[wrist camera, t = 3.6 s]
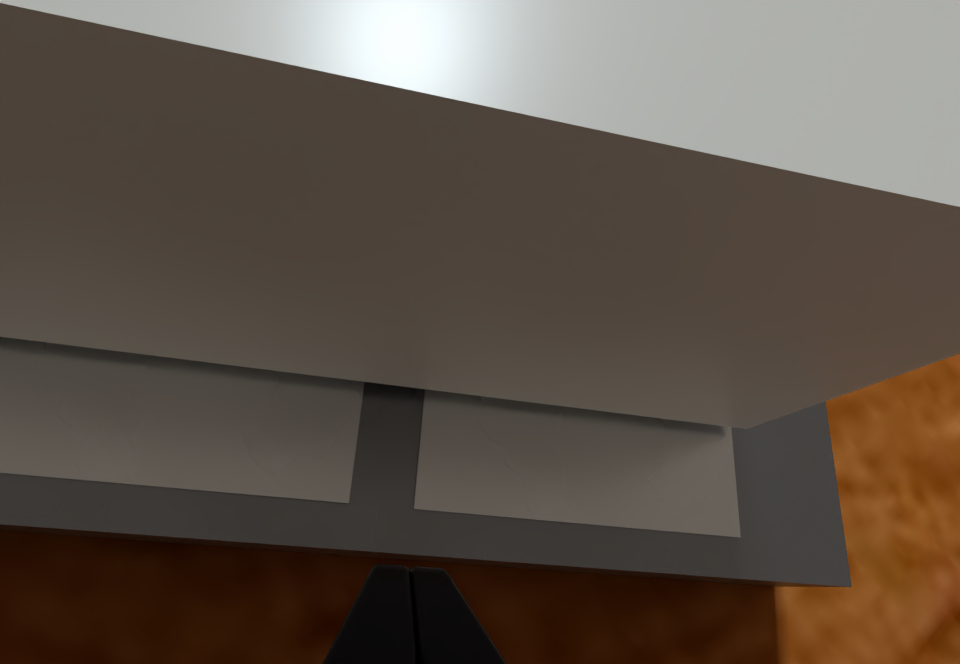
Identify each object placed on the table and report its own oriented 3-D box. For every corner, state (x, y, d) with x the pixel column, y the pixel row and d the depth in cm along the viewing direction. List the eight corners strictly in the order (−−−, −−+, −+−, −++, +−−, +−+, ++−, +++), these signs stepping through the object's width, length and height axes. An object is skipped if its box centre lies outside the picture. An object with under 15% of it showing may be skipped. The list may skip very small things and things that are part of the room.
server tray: (775, 586, 16) (858, 586, 14) (-514, 493, 11) (-748, 468, 9) (739, 231, 20) (799, 182, 17) (-242, 46, 15) (-350, -59, 12)
